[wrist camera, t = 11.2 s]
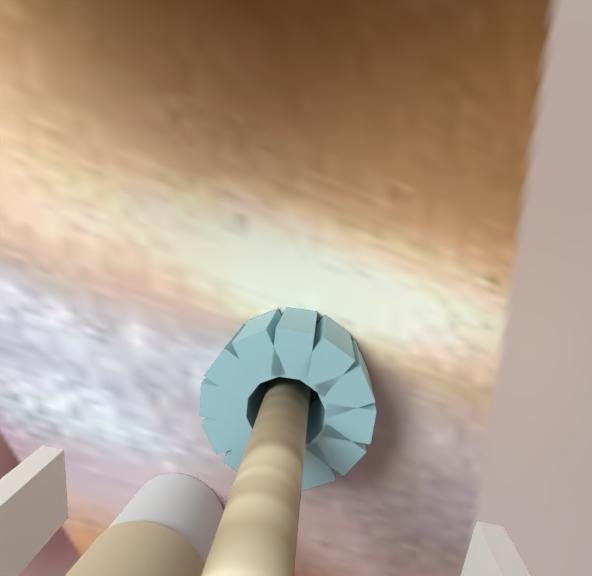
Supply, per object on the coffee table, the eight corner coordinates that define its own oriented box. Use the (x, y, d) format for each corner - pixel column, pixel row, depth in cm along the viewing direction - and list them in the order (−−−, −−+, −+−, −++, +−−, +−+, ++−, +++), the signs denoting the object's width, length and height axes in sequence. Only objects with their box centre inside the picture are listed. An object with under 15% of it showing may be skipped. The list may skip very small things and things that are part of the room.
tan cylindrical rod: (273, 356, 21) (108, 788, 5) (314, 362, 20) (275, 826, 5) (269, 393, 21) (109, 887, 5) (309, 399, 21) (260, 925, 5)
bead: (228, 299, 20) (204, 318, 16) (376, 319, 19) (389, 344, 16) (219, 428, 22) (196, 473, 18) (354, 451, 21) (359, 502, 17)
